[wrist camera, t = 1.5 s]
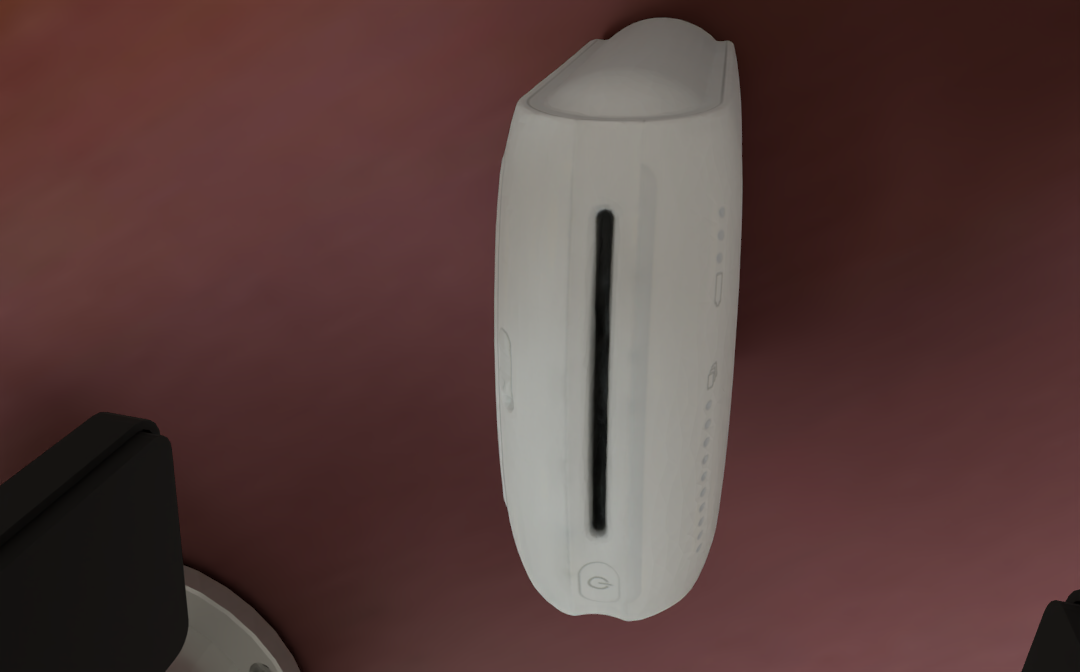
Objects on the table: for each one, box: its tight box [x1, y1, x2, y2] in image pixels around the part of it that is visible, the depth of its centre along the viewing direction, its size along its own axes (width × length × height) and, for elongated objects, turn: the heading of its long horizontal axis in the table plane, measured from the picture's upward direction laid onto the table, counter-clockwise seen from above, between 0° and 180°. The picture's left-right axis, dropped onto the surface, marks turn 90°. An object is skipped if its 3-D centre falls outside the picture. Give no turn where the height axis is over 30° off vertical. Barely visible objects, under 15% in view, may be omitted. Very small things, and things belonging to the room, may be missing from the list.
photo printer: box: [494, 17, 742, 621], centre depth 21 cm, size 10×4×12 cm, turn 1°
